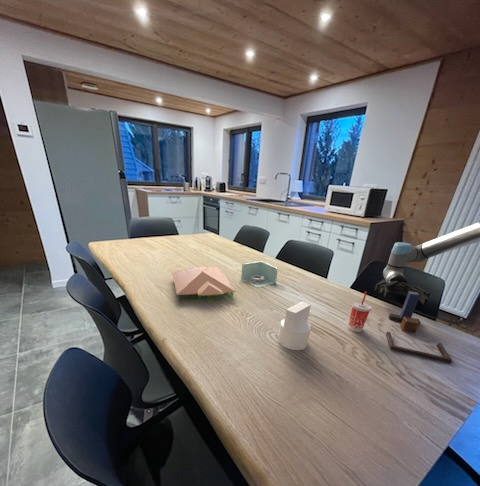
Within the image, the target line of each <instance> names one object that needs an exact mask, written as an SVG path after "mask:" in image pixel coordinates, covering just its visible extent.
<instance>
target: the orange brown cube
mask: <svg viewBox="0 0 480 486" xmlns="http://www.w3.org/2000/svg"><path fill="white" fill-rule="evenodd" d="M415 318H416V317H411V318H410V317H405V316H404V318H403V320H402V322H400V325H399V326H400V329H401V331H402V332H405V333H410V334H416V332H417V330H418V328H419V326H420V324H419V323H418V321H417V319H418V318H416V319H415Z"/></svg>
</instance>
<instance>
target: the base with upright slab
mask: <svg viewBox="0 0 480 486" xmlns="http://www.w3.org/2000/svg"><path fill="white" fill-rule="evenodd" d="M311 305H312V304H311V303H309V302H307V301H303V300H302V301H300V302H298V303H296V304H294V305H292V306H289V307H288V308H286V310H285V315H284V317H285V318H283V319H281V321H280V324H279V329H278V336H277V342H278V344H279V345H280V346H282V347H283V348H286V349H288V350H292V351H301V350H304V349H306V348H307V347H308V343H309V342H308V341H309V339H310V338H309V337H310V333H311V329H312V325H311V324H310V323H309V322H308V320H309V316H310V311H311V307H312V306H311Z"/></svg>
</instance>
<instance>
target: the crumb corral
mask: <svg viewBox="0 0 480 486" xmlns="http://www.w3.org/2000/svg"><path fill="white" fill-rule="evenodd" d="M385 336H386V339H387V342H388V345H389V349H390V350H391V351H395V352H399V353H404V354H407V355H408V354H409V355H412V356H417V357H421V358H425V359H429V360H435V361H438V362H443V363H447V364H451V363H452V362H453V361H452V358H451V356H450V355H449V353H448V351H447V350H446V349H445V347H444V345H443V343H441V342H437V343H436V347H437V349H438V351H439V352H440V354H441V355H438V354H435V353H429V352H424V351H420V350H416V349H413V348H406V347H404V346H403V347H402V346H398V345H395V342H394V339H393V337H392V334H391V332H390V331H386V334H385Z"/></svg>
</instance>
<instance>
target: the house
mask: <svg viewBox="0 0 480 486" xmlns="http://www.w3.org/2000/svg"><path fill="white" fill-rule="evenodd" d="M171 274H172V278H173V283H174V288H175V292H176V296H177V298H178V302H181V300H180V298H183V296H188V295H192V298H195V297H196V300H195V299H192V302H196V301H201V297H204V301H205V302H207V303H211V302H214V300H208V297H210V299H215V296H217V302H220V301H221V297H223V296H225V295H227V294H228V295H229V296H230V297H226V300H228V299H229V300H230V299H233V298H234V293H236V290H235V289H234V287H233V286H232V284H231V282H230V281H229V280H228V278H227V277H226V276H225V274H224V273H223V271H222V270H221V268H220V267H217V266H216V267H215V266H200V267H199V266H198V267H189V268H188V269H187V270H178V271H172V272H171ZM193 295H194V296H193Z"/></svg>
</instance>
